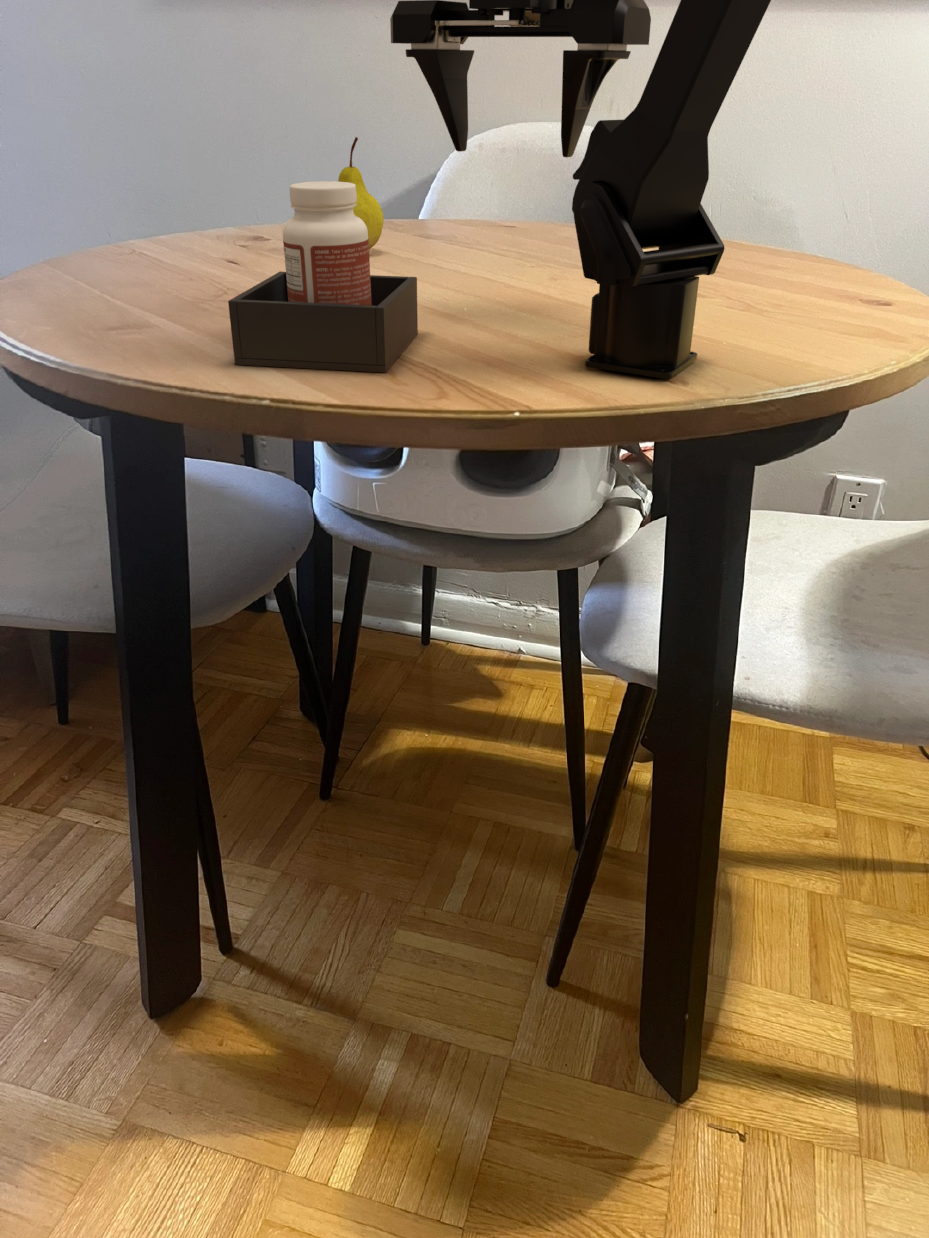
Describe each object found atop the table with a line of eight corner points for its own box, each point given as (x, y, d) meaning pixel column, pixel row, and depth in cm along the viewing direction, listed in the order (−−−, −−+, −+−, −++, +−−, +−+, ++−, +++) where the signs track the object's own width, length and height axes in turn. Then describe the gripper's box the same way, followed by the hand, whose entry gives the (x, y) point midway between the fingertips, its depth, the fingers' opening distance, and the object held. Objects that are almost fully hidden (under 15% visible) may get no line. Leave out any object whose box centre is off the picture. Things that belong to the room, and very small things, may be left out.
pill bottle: (385, 336, 77) (380, 181, 72) (354, 356, 72) (346, 190, 67) (312, 330, 79) (301, 178, 73) (277, 349, 74) (263, 187, 68)
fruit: (315, 250, 114) (308, 134, 108) (370, 246, 117) (366, 133, 111) (336, 260, 109) (329, 139, 103) (393, 255, 111) (390, 137, 105)
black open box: (417, 335, 80) (417, 277, 77) (385, 373, 70) (383, 307, 68) (284, 328, 81) (279, 271, 79) (234, 364, 72) (227, 300, 69)
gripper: (687, -88, 71) (663, 152, 79) (460, -75, 79) (459, 142, 87) (630, -108, 62) (610, 164, 70) (383, -91, 70) (389, 151, 78)
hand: (513, 154), depth 76 cm, fingers open, 9 cm apart
